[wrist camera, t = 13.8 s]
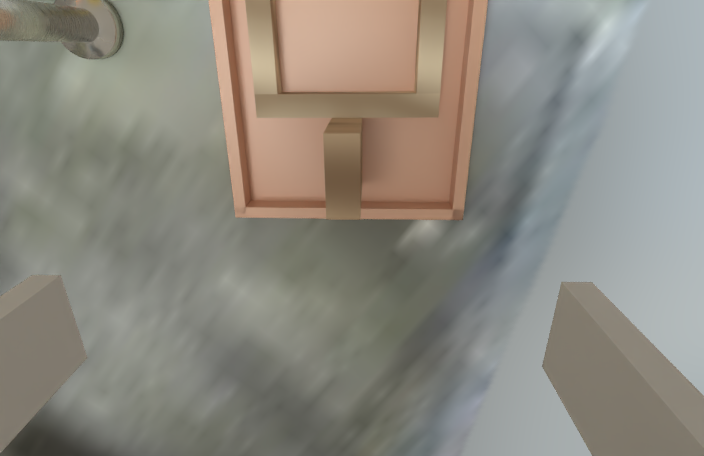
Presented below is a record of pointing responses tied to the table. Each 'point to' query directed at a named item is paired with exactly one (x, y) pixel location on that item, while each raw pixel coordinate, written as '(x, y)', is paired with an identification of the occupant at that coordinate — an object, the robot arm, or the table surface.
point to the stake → (64, 25)
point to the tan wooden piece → (345, 99)
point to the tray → (350, 76)
